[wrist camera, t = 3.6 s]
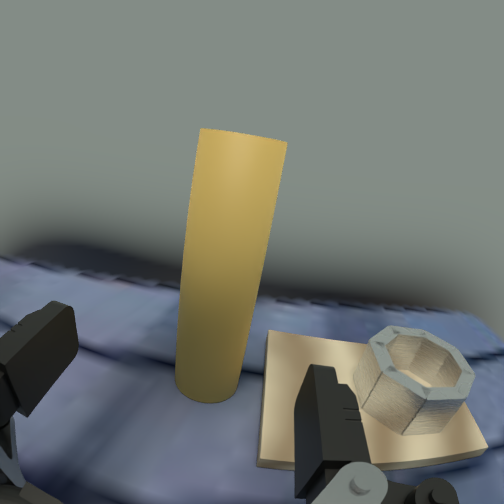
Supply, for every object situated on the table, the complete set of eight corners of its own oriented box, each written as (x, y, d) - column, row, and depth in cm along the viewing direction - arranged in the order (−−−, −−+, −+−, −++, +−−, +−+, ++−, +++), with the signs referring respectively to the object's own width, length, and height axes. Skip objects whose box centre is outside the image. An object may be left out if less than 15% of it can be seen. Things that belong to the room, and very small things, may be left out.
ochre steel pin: (167, 393, 18) (190, 126, 13) (183, 354, 22) (210, 130, 17) (233, 409, 18) (289, 142, 13) (240, 366, 22) (286, 143, 17)
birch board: (256, 466, 14) (259, 458, 14) (266, 338, 26) (268, 329, 26) (480, 455, 14) (488, 447, 13) (429, 358, 26) (434, 350, 26)
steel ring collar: (367, 436, 16) (391, 399, 14) (346, 356, 24) (361, 321, 23) (464, 429, 16) (489, 396, 14) (428, 363, 24) (445, 332, 22)
